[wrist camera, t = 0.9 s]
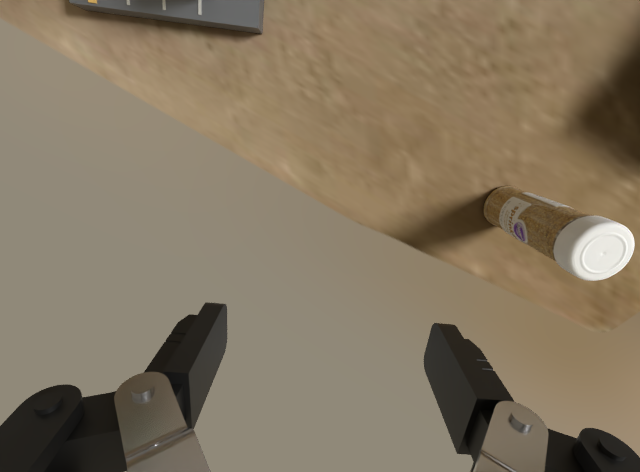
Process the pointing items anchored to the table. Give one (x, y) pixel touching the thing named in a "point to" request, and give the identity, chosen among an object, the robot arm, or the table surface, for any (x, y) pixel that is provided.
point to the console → (187, 11)
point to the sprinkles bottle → (562, 232)
